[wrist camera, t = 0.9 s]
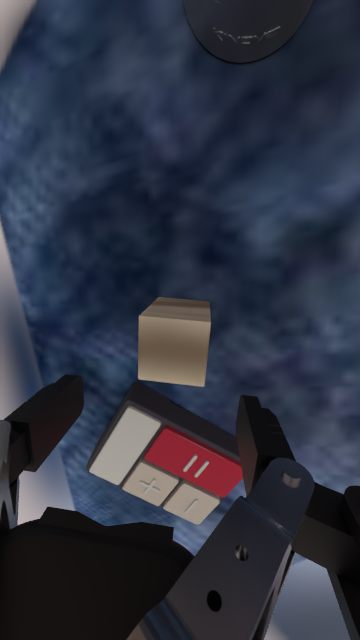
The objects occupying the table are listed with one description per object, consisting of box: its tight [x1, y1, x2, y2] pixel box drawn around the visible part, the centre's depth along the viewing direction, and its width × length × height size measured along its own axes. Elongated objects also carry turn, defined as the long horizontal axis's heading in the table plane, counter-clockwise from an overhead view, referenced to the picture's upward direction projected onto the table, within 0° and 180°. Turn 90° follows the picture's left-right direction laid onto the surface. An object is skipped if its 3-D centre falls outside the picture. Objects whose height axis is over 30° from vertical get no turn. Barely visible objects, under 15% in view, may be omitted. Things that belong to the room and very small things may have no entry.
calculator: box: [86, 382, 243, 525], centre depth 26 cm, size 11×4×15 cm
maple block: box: [138, 297, 211, 387], centre depth 20 cm, size 5×5×7 cm
